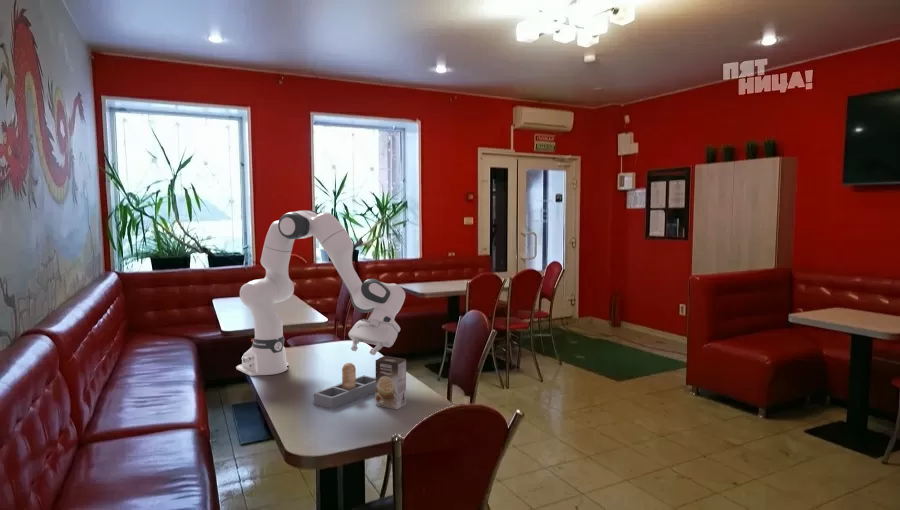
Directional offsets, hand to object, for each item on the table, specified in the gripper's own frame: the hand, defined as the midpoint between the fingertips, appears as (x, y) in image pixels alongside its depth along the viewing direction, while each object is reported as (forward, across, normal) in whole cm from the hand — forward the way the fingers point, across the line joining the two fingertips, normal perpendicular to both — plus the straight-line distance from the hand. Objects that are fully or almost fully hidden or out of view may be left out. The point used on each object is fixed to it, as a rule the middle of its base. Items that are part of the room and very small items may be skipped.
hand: (362, 352), depth 198 cm
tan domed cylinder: (+15, 0, +5) cm, 16 cm away
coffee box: (+14, +18, +7) cm, 24 cm away
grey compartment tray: (+15, 0, +5) cm, 16 cm away
